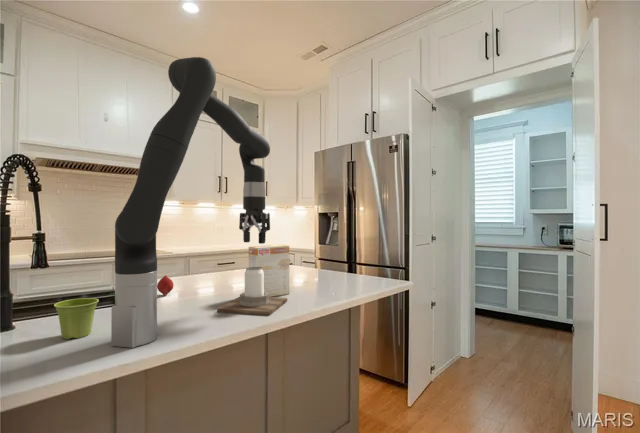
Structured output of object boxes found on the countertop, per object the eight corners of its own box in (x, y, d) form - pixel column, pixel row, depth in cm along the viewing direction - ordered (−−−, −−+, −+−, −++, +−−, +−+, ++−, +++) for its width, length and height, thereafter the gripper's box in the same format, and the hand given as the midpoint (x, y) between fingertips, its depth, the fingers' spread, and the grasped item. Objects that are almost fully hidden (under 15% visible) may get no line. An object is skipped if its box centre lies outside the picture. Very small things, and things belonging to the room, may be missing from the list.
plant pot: (83, 327, 93) (83, 296, 93) (106, 331, 89) (106, 299, 89) (45, 339, 84) (45, 304, 84) (69, 344, 81) (69, 308, 81)
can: (254, 299, 119) (254, 266, 119) (267, 302, 115) (267, 267, 115) (240, 303, 114) (240, 268, 114) (253, 306, 110) (253, 270, 110)
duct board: (269, 315, 104) (269, 302, 104) (217, 312, 108) (217, 299, 108) (287, 301, 122) (287, 289, 122) (241, 298, 125) (241, 287, 125)
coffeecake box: (281, 290, 139) (281, 244, 139) (290, 294, 133) (290, 245, 133) (247, 295, 130) (247, 246, 130) (255, 299, 124) (255, 247, 124)
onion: (153, 296, 129) (153, 275, 129) (164, 293, 135) (164, 273, 135) (166, 297, 127) (166, 276, 127) (176, 294, 133) (176, 274, 133)
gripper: (276, 195, 113) (275, 243, 113) (250, 197, 122) (250, 241, 122) (258, 194, 107) (258, 244, 107) (233, 196, 117) (233, 242, 117)
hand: (254, 242), depth 115 cm, fingers open, 8 cm apart
